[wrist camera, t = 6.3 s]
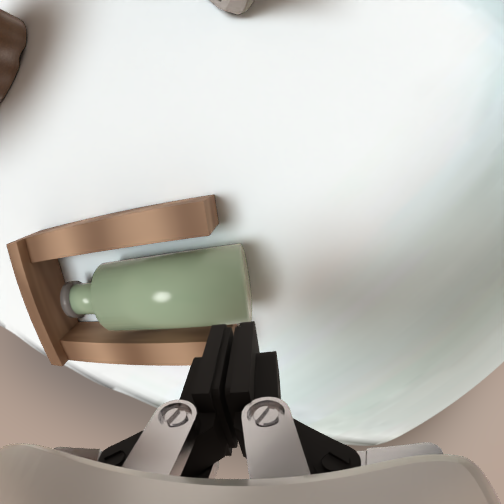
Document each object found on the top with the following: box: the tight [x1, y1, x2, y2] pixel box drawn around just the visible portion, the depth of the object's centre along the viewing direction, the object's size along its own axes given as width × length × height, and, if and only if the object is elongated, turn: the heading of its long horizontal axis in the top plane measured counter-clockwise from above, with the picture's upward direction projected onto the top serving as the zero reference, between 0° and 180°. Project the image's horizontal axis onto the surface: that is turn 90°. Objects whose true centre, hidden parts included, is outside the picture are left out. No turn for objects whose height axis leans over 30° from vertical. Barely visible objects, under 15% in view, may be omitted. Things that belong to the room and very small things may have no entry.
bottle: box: [60, 244, 252, 331], centre depth 19 cm, size 5×5×14 cm
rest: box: [6, 195, 237, 366], centre depth 19 cm, size 16×11×4 cm, turn 98°
